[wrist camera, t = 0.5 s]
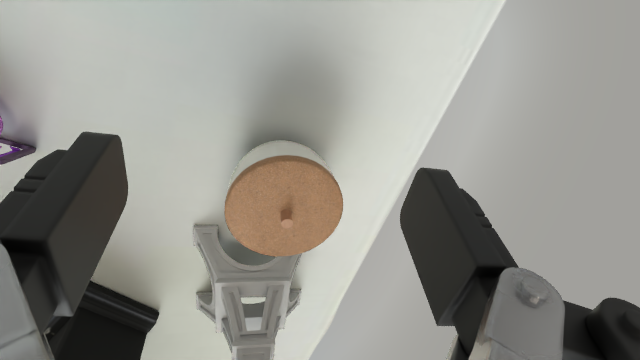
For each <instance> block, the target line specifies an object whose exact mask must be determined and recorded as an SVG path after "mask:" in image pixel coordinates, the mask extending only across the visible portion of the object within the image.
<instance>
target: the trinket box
mask: <svg viewBox="0 0 640 360" xmlns="http://www.w3.org/2000/svg"><path fill="white" fill-rule="evenodd" d="M342 211H343V198H342V193H341V190H340V188H339V185H338V183H337V181H336V180H335V178H334V176H333V174H332V172H331V171H330V169H329V167H328V166H327V164H326V163H325V162H324V160H323V159H322V158H321V157H320V156H319V155H318V154H317V153H315V152H314V151H313V150H312V149H310V148H308V147H307V146H304V145H302V144H299V143H296V142H292V141H284V140H281V141H272V142H267V143H265V144H262V145H260V146H258V147H256V148H254V149H253V150H251V151H250V152H249V153H247V154H246V155H245V156H244V157H243V158H242V159H241V160H240V162H239V163H238V165H237V166H236V168H235V170H234V172H233V174H232V176H231V179H230V183H229V187H228V192H227V197H226V201H225V219H226V223H227V226H228V228H229V230H230V232H231V233H232V235H233V236H234V237H235V238H236V239H237V241H239V242H240V243H241V244H242V245H244V246H245V247H247V248H249V249H250V250H252V251H255V252H257V253H260V254H264V255H269V256H292V255H296V254H300V253H303V252H306V251H309V250H311V249H313V248H314V247H316V246H318V245H319V244H321V243H322V242H324V241H325V240H326V239H327V238H328V237H329V236H330V235H331V234H332V233H333V231H334V230H335V228H336V227H337V225H338V223H339V221H340V219H341V215H342Z"/></svg>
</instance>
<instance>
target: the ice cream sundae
mask: <svg viewBox="0 0 640 360" xmlns="http://www.w3.org/2000/svg"><path fill="white" fill-rule="evenodd" d="M2 129H3V122H2V119H1V116H0V134H1V132H2ZM0 143H3V144H7V145H10V148H11V149H12V151H10V152H8V153H5V154H0V165H1V164H5V163H8V162H10V161H13V160H16V159H18V158H21V157H24V156H26V155H29V154H32V153H35V151H36V148H34V147H31V146H27V145H24V144H20V143H17V142H13V141H10V140H6V139H3V138H0ZM11 146H14V147H11ZM1 147H2V146H0V148H1ZM15 147H17V148H15ZM19 148H21V149H23V150H20V149H19Z"/></svg>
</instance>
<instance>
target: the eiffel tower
mask: <svg viewBox="0 0 640 360" xmlns="http://www.w3.org/2000/svg"><path fill="white" fill-rule="evenodd" d="M193 235H194V246H197V248H198V250H199V252H200V254H201V256H202V258H203V260H204V262H205V265H206V268H207V270H208V273H209V277H210V281H211V285H212V292H198V293H196V302H197V310H198V309H199V310H200V311H202V312H203V313H204V314H205V315H206V316H207V317H209V318H210V319H211V320H212V321H213V322H215V323H216V333H219V332H223V334H224V336H225V338H226V340H227V342H228V345H229V347H230V350H231V353H232V360H273V358H274V349H275V337H276V334H277V332H278V329H284V328H285V320H286V317H287V316H288V315H289V314H290V313H291V312H292V311H293V309H294V308H295V307H296V306H297V305H299V302H300V295H301V289H290V287H291V283H292V279H293V276H294V272H295V270H296V267H297V264H298V262H299V259H300V257H301V255H302V253H300V254H296V255H292V256H277V257H276V258H274V259H273V260H271V261H270V262H268V263H265V264H262V265H257V266H248V265H244V264H240V263H238V262H236V261H234V260H233V259H231V258H230V257H229V256H228V255H227V254H226V253H225V252H224V250H223V249H222V247H221V245H220V243H219V241H218V225H194V226H193ZM240 297H266V300H265V301H264V302H261V303H256V304H243V303H242V302H241V298H240Z"/></svg>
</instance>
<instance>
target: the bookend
mask: <svg viewBox="0 0 640 360" xmlns="http://www.w3.org/2000/svg"><path fill="white" fill-rule="evenodd" d="M158 316H159V312H158V311H155V310H153V309H151V308H149V307H146V306H144V305H142V304H139V303H137V302H135V301H132V300H130V299H128V298H126V297H123V296H121V295H119V294H117V293H114V292H112V291H110V290H108V289H105V288H103V287H101V286H98V285H96V284H94V283H92V282H89V284H88V286H87V288H86V290H85V292H84V294H83V296H82V298H81V301H80V303H79V305H78V307H77V309H76V311H75V313H74V315H73V316H52V318H51V320H50V321H49V323H48V325H47V327H46V329H45V331H44V334H45V336H46V339H47V341H48V344H49V346H50V349H51V352H52V354H53V357H54V359H55V360H140V358H141V354H142V350H143V346H144V343H145V339H146V335H147V333H148V332H149V331H150V330H151V329H152V327H153V326H154V325H155V324H156V321H157V319H158Z"/></svg>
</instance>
